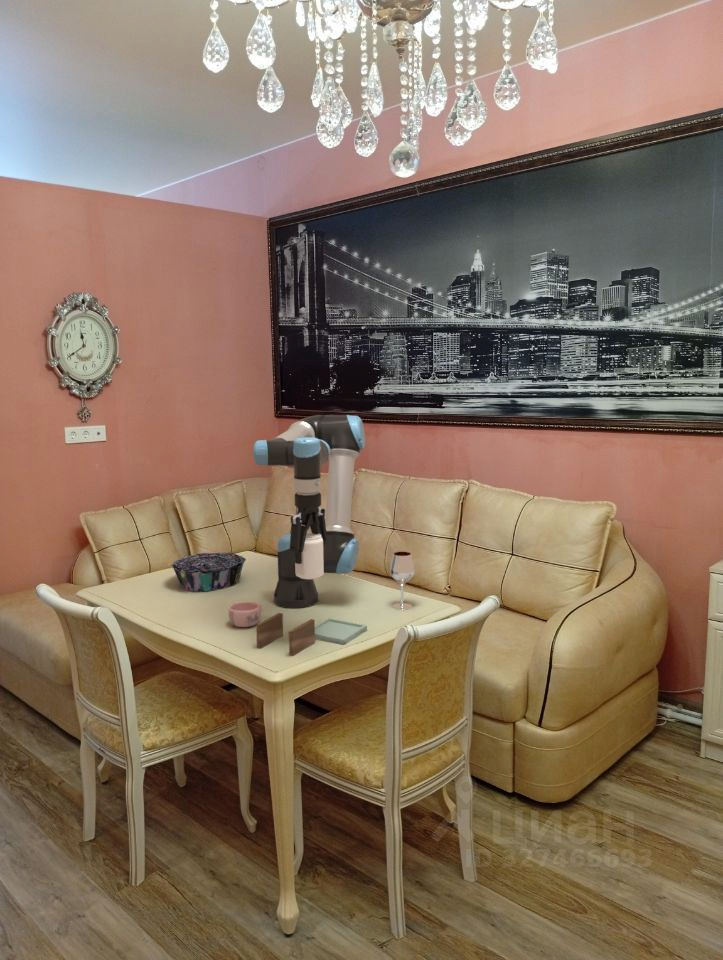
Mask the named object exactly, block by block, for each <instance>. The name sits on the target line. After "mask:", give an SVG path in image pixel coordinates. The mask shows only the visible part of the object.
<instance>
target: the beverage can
mask: <svg viewBox="0 0 723 960" xmlns="http://www.w3.org/2000/svg"><path fill="white" fill-rule="evenodd" d="M299 548H300V547H299ZM303 552H305V575H300V574H296V576H297V577H300V578H302V579H313V580H315V579H319V578H320V577H322V576H323V575H324V574H325V573H324V562H323V539H322V537H321V534H313V533H312V532H311V533H307V534H306V539H305V544H304V548H303ZM295 571H296V563H295Z"/></svg>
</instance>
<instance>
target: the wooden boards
mask: <svg viewBox="0 0 723 960" xmlns="http://www.w3.org/2000/svg"><path fill="white" fill-rule="evenodd" d="M283 615H284V613H281V612H278V613H276V614H274V615H271V616H270V617H268V618H266V619H264V620H262V621H260V622H258V623H257V624H255V625H256V648H257V649H260V650H261V649H262V648H265V647H266V646H268V645H270V644H272V643H274V642H275V641H277V640H278V639H281V638H283V637H284V619H283V618H284V616H283ZM315 625H316V624H315V619H314V618H313V619H312V618H311V619H308V620H307V621H304V622H303V623H301V624H299V625H297V626H295V627H294V628H292V629H290V630H289V631H288V645H289V646H288V647H289V649H288V650H289V656H292V657H294V656H296V655H297V654H299V653H301V652H302V651H304V650H306V649H307V648H309V647H310V646H312V645H314V644H315V643H316V639H315Z"/></svg>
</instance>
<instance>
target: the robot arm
mask: <svg viewBox="0 0 723 960" xmlns="http://www.w3.org/2000/svg"><path fill="white" fill-rule="evenodd" d="M365 434H366V433H365V427H364V423H363V420H362V418H361V417H359V415H349V414H346V415H345V414H344V415H343V414H341V415H339V414H337V415H335V414H329V415H328V414H327V415H324V414H317V415H316V414H315V415H311V416H308V417H304V418H301V419H300V420H297V421H295V422H294V423H293V422H292V424H291V425H290V426H289V427H288V429H287V430H285V431H284V432H283V433H281V434H279V435H277V436H275V437H274V438H272V439H263V440H262V439H261V440H260V439H258V440H257V441H256V442H255V443H254V445H253V450H252V454H253V455H252V457H253V461H254V463H255V464H256V465H257V466H265V467H268V466H269V467H271V466H275V467H278V466H281V467H285V466H286V467H293V472H294V473H293V491H294V492H295V494H294V506H295V507H296V508H297V513H296V515H295V516H290V523H291V525H290V533H288V534H284V535H282V536H281V537H279V538H278V540H277V549H276V552H277V575H278V576H277V578H278V579H277V583H276V586H275V590H274V593H273V604H274V605H276V606H278V607H281V608H289V609H300V608H307V607H310V606H314V605H315V604H317V603H318V602H319V592H318V589H317V586H316V583H315V579H302V578H300V577H297V576H296V574H300V575H305V552H303V548H304V544H305V539H306V534H307V533H313V534H321V537H322V539H323V562H324V574H335V575H336V574H337V575H340V574H350V573H352V572H353V570H354V569H355V567H356V564H357V560H358V556H359V549H360V548H359V546H360V545H359V540H358V539H357V538H355V533H354V532H353V530H352V529H351V523H352V519H351V517H352V504H353V503H352V502H353V489H354V474H355V462H356V461H355V460H356V459H357V458H358V457H360V451H363V450H365V448H366V436H365ZM328 460H329V462H328ZM327 462H328V472H327V473H328V475H327V485H326V486H327V488H326V502H325V508H322V507H321V505H322V494H321V491H322V487H321V470H322V469H321V468H322V467H321V466H323V465H325V464H326V463H327ZM320 507H321V508H320ZM309 529H310V531H311V532H310V531H308V530H309ZM299 547H300V548H299ZM295 563H296V571H295Z"/></svg>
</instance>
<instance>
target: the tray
mask: <svg viewBox="0 0 723 960" xmlns="http://www.w3.org/2000/svg"><path fill="white" fill-rule="evenodd" d="M366 631H368V625H367V624H362V623H357V622H353V621H348V620H341V619H335V618H332V617H328V618H326V619H324V620H322V621H321V622H318V623H317V624H315V640H319V641H324V642H327V643H328V642H329V643H334V644H337V645H343V646H344V645H347V644H348V643H350V642H351V641H352V640H354V639H356V638H357V637H359V636H360V635H362V634H363V633H365V632H366Z"/></svg>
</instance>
